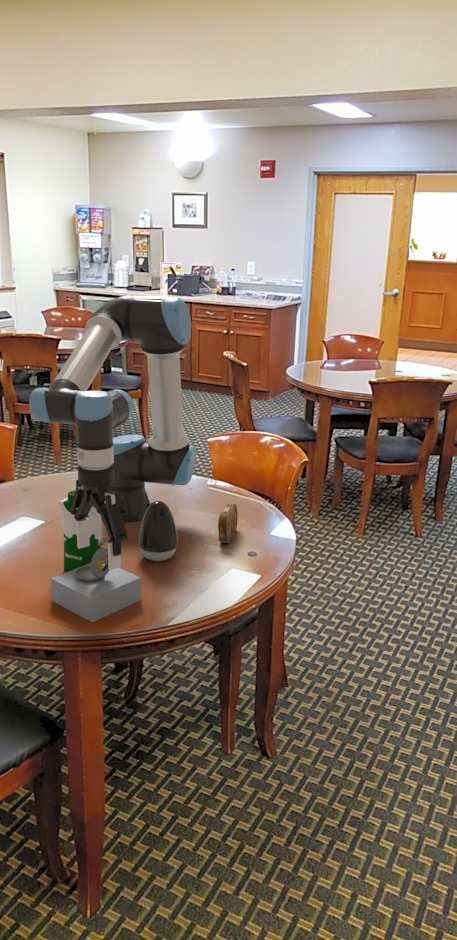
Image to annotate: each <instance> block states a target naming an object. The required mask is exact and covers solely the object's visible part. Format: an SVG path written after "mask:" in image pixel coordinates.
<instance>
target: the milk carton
mask: <svg viewBox="0 0 457 940" xmlns="http://www.w3.org/2000/svg"><path fill="white" fill-rule="evenodd" d="M74 494H75V490H71V491H69V492H68V493H67V497H65V498H63V499H61V500H59V501H58V503H59V507H60V511H61V515H62V536H63V570H64V571H67V572H69V571H72V570H74V569H77V568H79V567H82V566H85V565H87V564H90V563H91V561H92V558H93V556H94V554H95V553H96V551H97V550H99V549H100V546H98V542H99V541H100V540H101V539H103V534H102V518H101V515H100V514H99V513H97V511H96V509H95V508H94V507H93V506H92V508H91V510H90V511H89V513H88V515H89V517H86V518H85V519H89V538H90V546H88V547H84V548H80V549H79V548H78V547H77V524H76V520H75V517H74V515H71V513H70V510H71V506H72V502H73V498H74ZM77 508H79V507H77ZM100 542H102V543H103V541H102V540H101V541H100ZM100 542H99V544H100Z"/></svg>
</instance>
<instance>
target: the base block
mask: <svg viewBox="0 0 457 940" xmlns="http://www.w3.org/2000/svg"><path fill="white" fill-rule="evenodd" d="M102 563H103V562H102ZM98 565H99V564H98ZM85 566H91V563H90V564H87V565H85ZM85 566H82V567H85ZM102 566H105V564H102ZM79 568H81V567H79ZM79 568H77V569H79ZM77 569H74V570H72V571H66V572H64V573H61V574H59V575H57V576H54V577H51V578H50V585H51V586H50V587H51V601H52V602H53V603H55V604H57V605H58V606H60V607H62V608H65V609H66V610H68V611H70V612H72V613H73V614H76V616H79V617H81V618H83V619H85V620H87V621H88V622H90V623H94V622H96V621H99V620H101V619H102V618H106V617H107V616H109V615H111V614H114V613H115V612H118V611H121V610H122V609H125V608H127V607H128V606H131V605H133V604H136V603H138V602H140V601H141V600H142V581H141V580H142V578H141V576H138V575H136V574H135V573H134V574H133V573H132V572H130V571H127V570H125V569H122V568H121V567H119V568H116V569H112V570H109V572H108V573H107V574H106V575H105V576H103V577H102V578H100V579H98V580H94V581H84V580H80V579H78V578H77V577H76V576H75V571H76V570H77Z"/></svg>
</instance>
